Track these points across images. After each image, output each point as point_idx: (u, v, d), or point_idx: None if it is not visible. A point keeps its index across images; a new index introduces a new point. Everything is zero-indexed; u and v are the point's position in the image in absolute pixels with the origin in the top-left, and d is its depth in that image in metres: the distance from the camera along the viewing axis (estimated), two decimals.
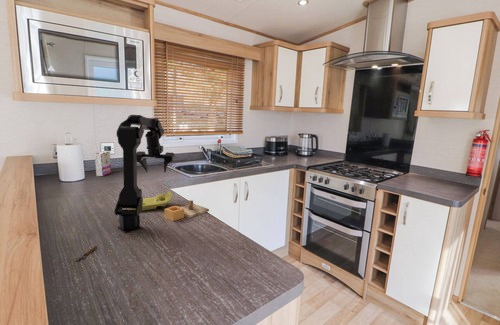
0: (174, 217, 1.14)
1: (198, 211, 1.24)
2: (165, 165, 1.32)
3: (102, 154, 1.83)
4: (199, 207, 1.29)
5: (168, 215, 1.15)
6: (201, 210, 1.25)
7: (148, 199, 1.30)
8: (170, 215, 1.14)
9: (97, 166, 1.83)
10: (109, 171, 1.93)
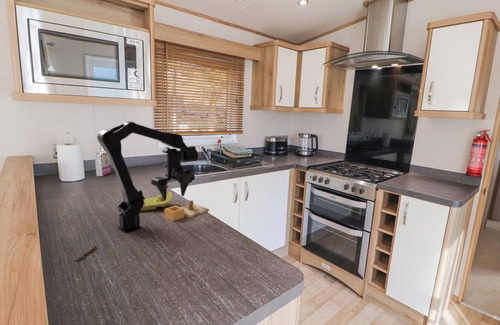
0: (174, 217, 1.14)
1: (198, 211, 1.24)
2: None
3: (102, 154, 1.83)
4: (199, 207, 1.29)
5: (168, 215, 1.15)
6: (201, 210, 1.25)
7: (148, 199, 1.30)
8: (170, 215, 1.14)
9: (97, 166, 1.83)
10: (109, 171, 1.93)
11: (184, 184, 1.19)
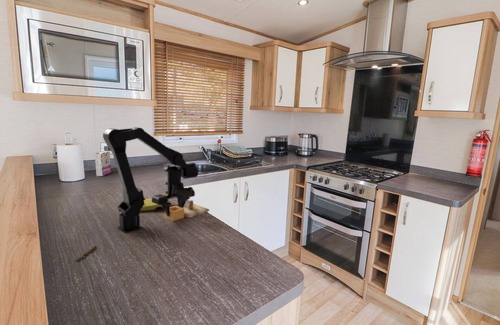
0: (174, 217, 1.14)
1: (198, 211, 1.24)
2: None
3: (102, 154, 1.83)
4: (199, 207, 1.29)
5: None
6: (201, 210, 1.25)
7: (149, 200, 1.29)
8: (170, 215, 1.14)
9: (97, 166, 1.83)
10: (109, 171, 1.93)
11: (182, 201, 1.19)
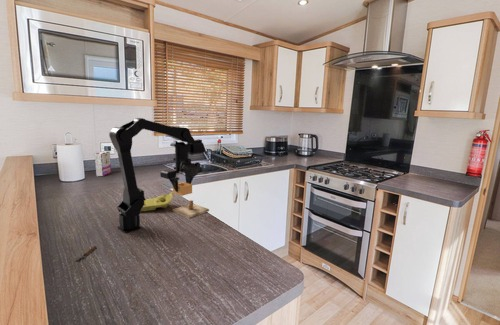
0: (182, 192, 1.16)
1: (198, 211, 1.24)
2: None
3: (102, 154, 1.83)
4: (199, 207, 1.29)
5: None
6: (201, 210, 1.25)
7: (149, 200, 1.29)
8: (179, 190, 1.16)
9: (97, 166, 1.83)
10: (109, 171, 1.93)
11: (189, 177, 1.21)
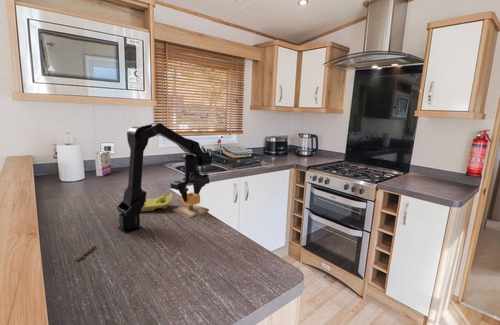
0: (191, 202, 1.22)
1: (198, 211, 1.24)
2: None
3: (102, 154, 1.83)
4: (199, 207, 1.29)
5: None
6: (201, 210, 1.25)
7: (149, 200, 1.28)
8: (187, 200, 1.22)
9: (97, 166, 1.83)
10: (109, 171, 1.93)
11: (197, 188, 1.27)
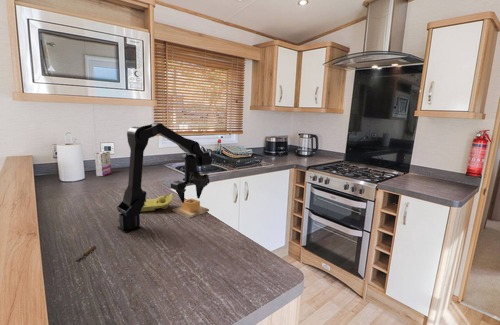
0: (191, 209, 1.22)
1: (198, 211, 1.24)
2: None
3: (102, 154, 1.83)
4: None
5: (185, 207, 1.24)
6: (201, 210, 1.25)
7: (149, 200, 1.28)
8: (187, 207, 1.22)
9: (97, 166, 1.83)
10: (109, 171, 1.93)
11: (200, 187, 1.28)
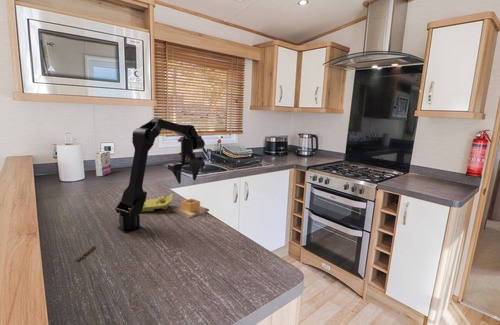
0: (191, 209, 1.22)
1: (198, 211, 1.24)
2: None
3: (102, 154, 1.83)
4: None
5: (185, 207, 1.24)
6: (201, 210, 1.25)
7: (150, 200, 1.28)
8: (187, 207, 1.22)
9: (97, 166, 1.83)
10: (109, 171, 1.93)
11: (195, 170, 1.35)
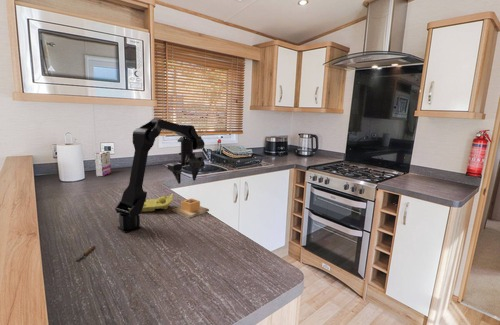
0: (191, 209, 1.22)
1: (198, 211, 1.24)
2: None
3: (102, 154, 1.83)
4: None
5: (185, 207, 1.24)
6: (201, 210, 1.25)
7: (150, 200, 1.28)
8: (187, 207, 1.22)
9: (97, 166, 1.83)
10: (109, 171, 1.93)
11: (195, 170, 1.35)
